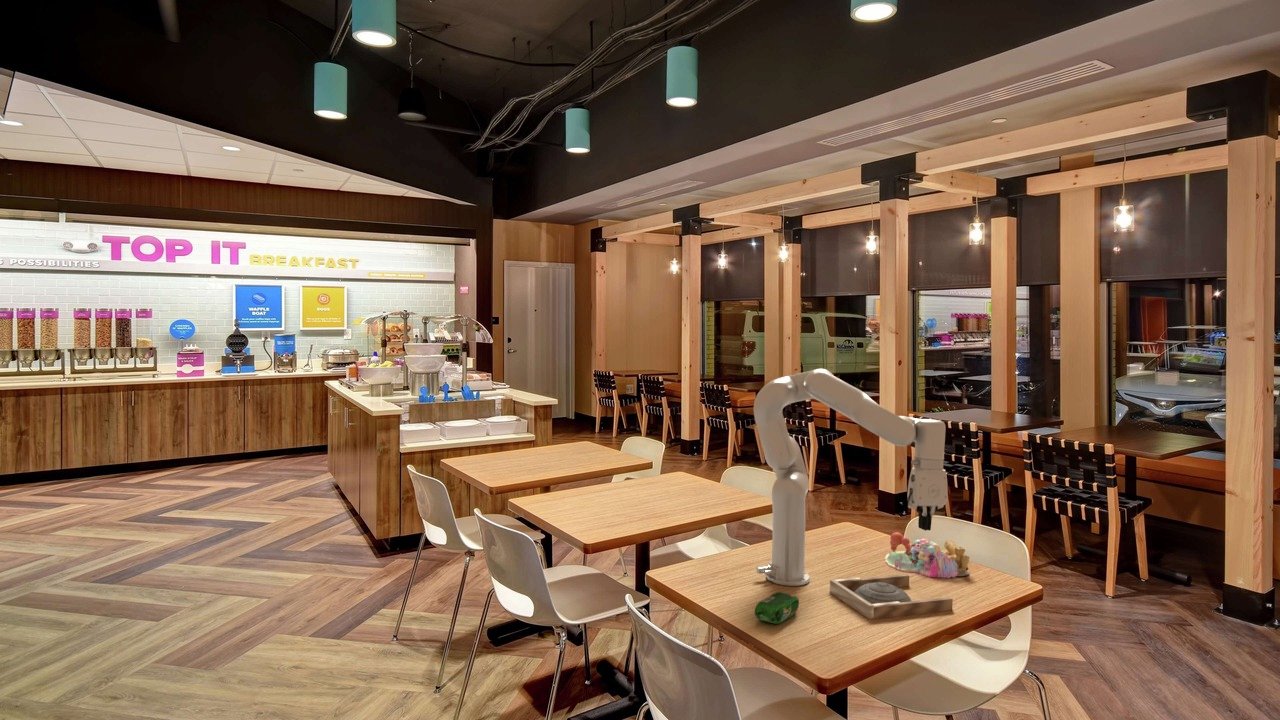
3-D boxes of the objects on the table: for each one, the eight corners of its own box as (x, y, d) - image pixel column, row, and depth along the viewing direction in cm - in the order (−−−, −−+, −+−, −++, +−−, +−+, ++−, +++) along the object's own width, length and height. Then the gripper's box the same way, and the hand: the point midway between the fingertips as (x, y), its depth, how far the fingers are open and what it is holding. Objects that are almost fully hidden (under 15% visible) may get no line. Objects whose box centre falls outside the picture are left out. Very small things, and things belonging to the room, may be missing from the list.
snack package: (749, 624, 176) (749, 604, 176) (778, 605, 188) (779, 586, 188) (774, 632, 172) (774, 611, 171) (803, 612, 184) (803, 593, 184)
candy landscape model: (954, 556, 232) (955, 529, 232) (982, 581, 209) (983, 551, 208) (877, 553, 235) (878, 526, 234) (896, 577, 211) (896, 547, 211)
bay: (869, 619, 180) (869, 605, 179) (829, 591, 198) (830, 579, 198) (952, 609, 186) (952, 597, 186) (906, 584, 205) (906, 572, 205)
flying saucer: (847, 592, 199) (847, 573, 199) (900, 593, 198) (901, 574, 198) (861, 613, 184) (862, 592, 184) (919, 614, 183) (920, 594, 183)
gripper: (914, 467, 188) (909, 534, 189) (960, 466, 192) (956, 532, 193) (896, 461, 195) (893, 526, 196) (942, 460, 199) (938, 524, 200)
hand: (924, 528), depth 195 cm, fingers closed
